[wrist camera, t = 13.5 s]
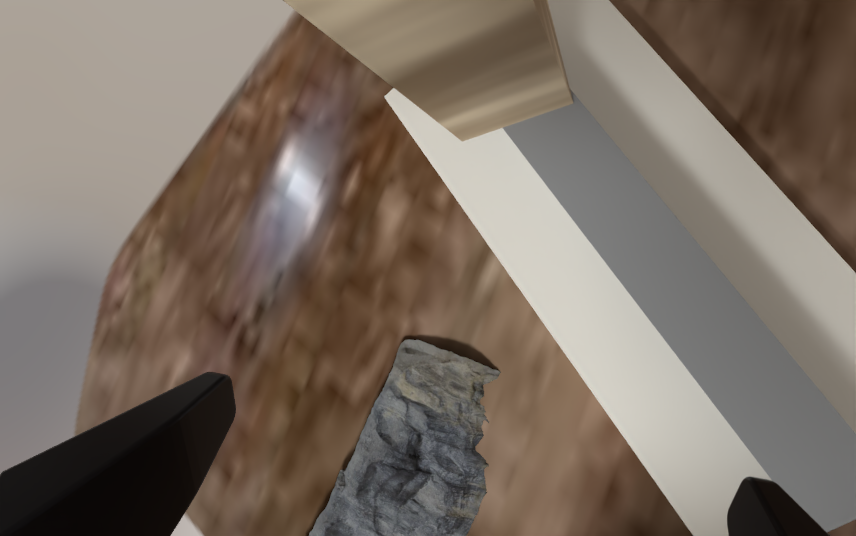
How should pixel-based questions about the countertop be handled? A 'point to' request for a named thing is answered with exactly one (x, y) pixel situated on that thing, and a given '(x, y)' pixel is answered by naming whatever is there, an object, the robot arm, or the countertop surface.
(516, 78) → the brass post
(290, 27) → the countertop surface
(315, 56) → the countertop surface
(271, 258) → the countertop surface
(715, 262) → the ridge stand
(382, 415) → the driftwood
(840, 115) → the countertop surface
